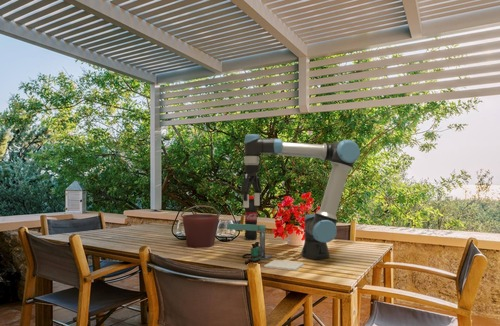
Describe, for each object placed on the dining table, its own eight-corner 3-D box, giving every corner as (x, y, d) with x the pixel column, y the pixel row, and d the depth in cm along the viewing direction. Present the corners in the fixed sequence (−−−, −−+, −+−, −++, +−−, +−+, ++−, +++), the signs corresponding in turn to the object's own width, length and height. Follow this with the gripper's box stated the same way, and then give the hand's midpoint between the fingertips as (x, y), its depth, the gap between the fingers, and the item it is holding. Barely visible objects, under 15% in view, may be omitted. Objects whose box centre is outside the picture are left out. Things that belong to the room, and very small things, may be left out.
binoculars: (244, 241, 208) (262, 241, 204) (246, 262, 207) (264, 261, 203) (238, 244, 199) (256, 244, 196) (239, 265, 199) (258, 265, 195)
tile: (304, 264, 199) (304, 262, 199) (295, 270, 186) (295, 268, 186) (274, 261, 206) (274, 259, 206) (264, 267, 193) (264, 265, 193)
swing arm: (266, 230, 215) (266, 224, 215) (264, 231, 212) (264, 225, 212) (228, 228, 222) (228, 223, 222) (226, 229, 218) (226, 224, 219)
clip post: (271, 257, 216) (271, 231, 216) (266, 260, 209) (266, 233, 209) (258, 255, 219) (258, 230, 219) (252, 258, 212) (252, 232, 212)
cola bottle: (242, 239, 272) (242, 195, 272) (249, 237, 279) (249, 195, 279) (252, 240, 267) (252, 196, 268) (259, 239, 274) (259, 195, 275)
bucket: (222, 242, 259) (222, 204, 259) (216, 249, 237) (216, 207, 237) (185, 242, 261) (185, 204, 262) (176, 248, 239) (176, 207, 240)
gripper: (248, 164, 189) (248, 208, 189) (267, 165, 212) (267, 204, 212) (234, 164, 193) (234, 208, 192) (255, 165, 215) (254, 204, 215)
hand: (251, 206), depth 202 cm, fingers open, 13 cm apart
